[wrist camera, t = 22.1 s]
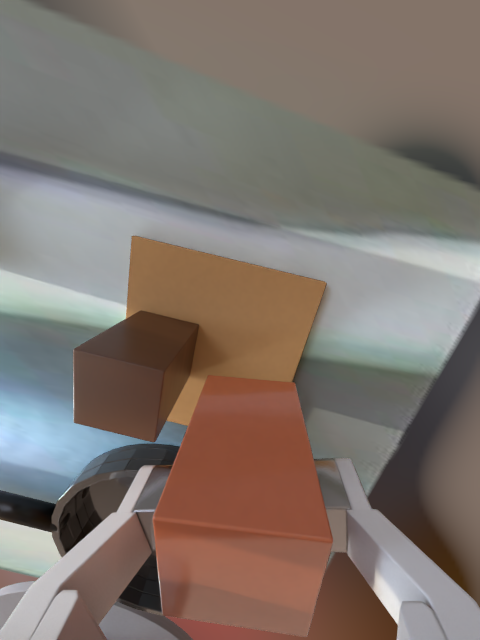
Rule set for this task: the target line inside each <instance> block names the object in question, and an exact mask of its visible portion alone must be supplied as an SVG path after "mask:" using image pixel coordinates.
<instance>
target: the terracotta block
mask: <svg viewBox="0 0 480 640" xmlns="http://www.w3.org/2000/svg"><path fill="white" fill-rule="evenodd" d="M153 529H154V539H155V548H156V558H157V568H158V578H159V588H160V598H161V607H162V614H163V615H164V616H171V617H177V618H184V619H190V620H197V621H203V622H210V623H216V624H223V625H230V626H236V627H243V628H249V629H256V630H263V631H269V632H275V633H282V634H289V635H295V636H302V637H307V636H308V633H309V629H310V625H311V621H312V618H313V614H314V610H315V607H316V603H317V600H318V596H319V592H320V588H321V585H322V581H323V578H324V574H325V570H326V567H327V563H328V559H329V556H330V552H331V549H332V545H333V536H332V532H331V528H330V524H329V520H328V516H327V512H326V508H325V504H324V500H323V495H322V491H321V487H320V483H319V479H318V475H317V471H316V467H315V463H314V458H313V454H312V450H311V446H310V442H309V438H308V434H307V430H306V426H305V421H304V417H303V413H302V409H301V405H300V401H299V397H298V393H297V389H296V385H295V383H294V382H283V381H271V380H260V379H249V378H237V377H226V376H215V375H208V376H207V379H206V381H205V384H204V386H203V389H202V392H201V394H200V397H199V399H198V402H197V404H196V407H195V409H194V412H193V415H192V417H191V420H190V422H189V425H188V427H187V430H186V433H185V435H184V438H183V440H182V443H181V445H180V448H179V451H178V453H177V456H176V458H175V461H174V463H173V466H172V469H171V471H170V474H169V476H168V479H167V481H166V484H165V487H164V489H163V492H162V494H161V497H160V499H159V502H158V505H157V507H156V510H155V512H154V515H153Z"/></svg>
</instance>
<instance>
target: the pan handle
mask: <svg viewBox="0 0 480 640" xmlns="http://www.w3.org/2000/svg"><path fill="white" fill-rule="evenodd" d="M55 506H56V504H53V503H49V502H45V501H41V500H37V499H33V498H29V497H25V496H21V495H17V494H13V493H9V492H5V491H1V490H0V520H4V521H8V522H12V523H16V524H20V525H24V526H28V527H32V528H36V529H40V530H44V531H48V532H56V531H57V527H56V526H55V525H53V524H52V522H51V517H52V514H53V512H54V509H55ZM69 518H70V513H67V515H66V516H65V518H64V519H63V521H62V523H61V527H60V528H61V529H62V528H63V527H64V526H65V525H66V524H67V522H68V521H69Z"/></svg>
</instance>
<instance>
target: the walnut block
mask: <svg viewBox="0 0 480 640" xmlns="http://www.w3.org/2000/svg"><path fill="white" fill-rule="evenodd" d="M198 329H199V324H196V323H192V322H187V321H183V320H179V319H175V318H171V317H167V316H163V315H159V314H155V313H150V312H146V311H142V310H140V311H138V312H137V313H135V314H133V315H131V316H130V317H128V318H126V319H125V320H123V321H121V322H119V323H118V324H116V325H114V326H112V327H111V328H109V329H107V330H106V331H104V332H102V333H100V334H99V335H97V336H95V337H93V338H92V339H90V340H88V341H87V342H85V343H83V344H81V345H80V346H78V347H76V348H74V349H73V400H74V423H77V424H81V425H85V426H89V427H94V428H98V429H102V430H106V431H110V432H114V433H118V434H122V435H126V436H130V437H134V438H138V439H142V440H146V441H150V442H155V441H156V439H157V437H158V435H159V433H160V432H161V430H162V428H163V426H164V424H165V422H166V420H167V418H168V416H169V414H170V413H171V411H172V409H173V407H174V405H175V403H176V401H177V399H178V397H179V395H180V394H181V392H182V390H183V388H184V386H185V384H186V382H187V380H188V378H189V376H190V373H191V368H192V362H193V357H194V351H195V346H196V340H197V335H198Z"/></svg>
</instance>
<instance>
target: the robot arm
mask: <svg viewBox="0 0 480 640" xmlns="http://www.w3.org/2000/svg"><path fill="white" fill-rule="evenodd" d="M314 463H315V467H316V471H317V475H318V479H319V483H320V487H321V491H322V495H323V500H324V504H325V508H326V512H327V516H328V520H329V524H330V528H331V532H332V536H333V545H332V549H331V552H347V555H348V556H349V557H350V559H351V560H352V562H353V563H354V564H355V566H356V567H357V569H358V570H359V571H360V573H361V574H362V576H363V577H364V578H365V580H366V581H367V583H368V584H369V585H370V587H371V588H372V589H373V591H374V592H375V594H376V595H377V596H378V598H379V599H380V601H381V602H382V603H383V605H384V606H385V608H386V609H387V610H388V612H389V613H390V615H391V616H392V617H393V619H394V620H395V622H396V623H397V624H398V632H397V640H480V608H479V607H478V604H477V603H476V601H475V600H474V599H472V598H471V597H470V596H469V595H468V594H467V593H466V592H465V591H464V590H463V589H462V588H461V587H460V586H458V585H457V584H456V583H455V582H454V581H453V580H452V579H451V578H450V577H449V576H448V575H447V574H445V572H444V571H442V569H440V568H439V567H438V566H437V565H436V564H435V563H434V562H433V561H432V560H431V559H430V558H429V557H428V556H426V555H425V554H424V553H423V552H422V551H421V550H420V549H419V548H418V547H417V546H416V545H415V544H414V543H413V542H412V541H410V540H409V539H408V538H407V537H406V536H405V535H404V534H403V533H402V532H401V531H400V530H399V529H398V528H397V527H396V526H394V525H393V524H392V523H391V522H390V521H389V520H388V519H387V518H386V517H385V516H384V515H383V514H382V513H381V512H380V511H378V510H377V509H372V508H371V506H370V503H369V501H368V498H367V496H366V494H365V491H364V489H363V486H362V484H361V482H360V479H359V477H358V474H357V472H356V470H355V467H354V465H353V462H352V460H351V459H350V458H334V459H333V458H327V459H314ZM172 466H173V465H144V466H142V467H141V468H140V469H139V471H138V473H137V475H136V477H135V479H134V481H133V482H132V484H131V486H130V488H129V490H128V492H127V494H126V495H125V497H124V499H123V501H122V503H121V505H120V507H119V509H118V510H117V512H115V513H111V514H110V515H109V516H108V517H107V518H106V519H105V520H104V521H102V522H101V523H100V524H99V525H98V526H97V527H96V528H95V529H94V530H92V531H91V532H90V533H89V534H88V535H87V536H86V537H85V538H83V539H82V540H81V541H80V542H79V543H78V544H77V545H76V546H75V547H73V548H72V549H71V550H70V551H69V552H68V553H67V554H66V555H64V556H63V557H62V558H61V559H60V560H59V561H58V562H57V563H56V564H54V565H53V566H52V567H51V568H50V569H49V570H48V571H47V572H45V573H44V574H43V575H42V576H41V577H40V578H39V579H38V580H37V581H35V582H34V583H33V584H32V585H31V586H30V587H29V589H28V590H27V592H26V593H25V595H24V596H23V598H22V599H21V601H20V602H19V604H18V605H17V606H16V608H15V609H14V611H13V612H12V614H11V615H10V617H9V618H8V620H7V621H6V623H5V624H4V626H3V627H2V629H1V630H0V640H107V639H106V637H105V636H104V634H103V632H102V631H101V629H100V627H99V626H98V625H99V623H100V622H101V620H102V619H103V618H104V616H105V615H106V614H107V612H108V611H109V610H110V608H111V607H112V606H113V604H114V603H115V602H116V600H117V599H118V598H119V596H120V595H121V594H122V592H123V591H124V589H125V588H126V587H127V585H128V584H129V583H130V581H131V580H132V579H133V577H134V576H135V575H136V573H137V572H138V571H139V569H140V568H141V567H142V565H143V564H144V563H145V561H146V560H147V558H148V557H149V556H150V554H151V553H152V551H156V548H155V539H154V529H153V515H154V512H155V510H156V507H157V505H158V502H159V499H160V497H161V494H162V492H163V489H164V487H165V484H166V481H167V479H168V476H169V474H170V471H171V469H172Z"/></svg>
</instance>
